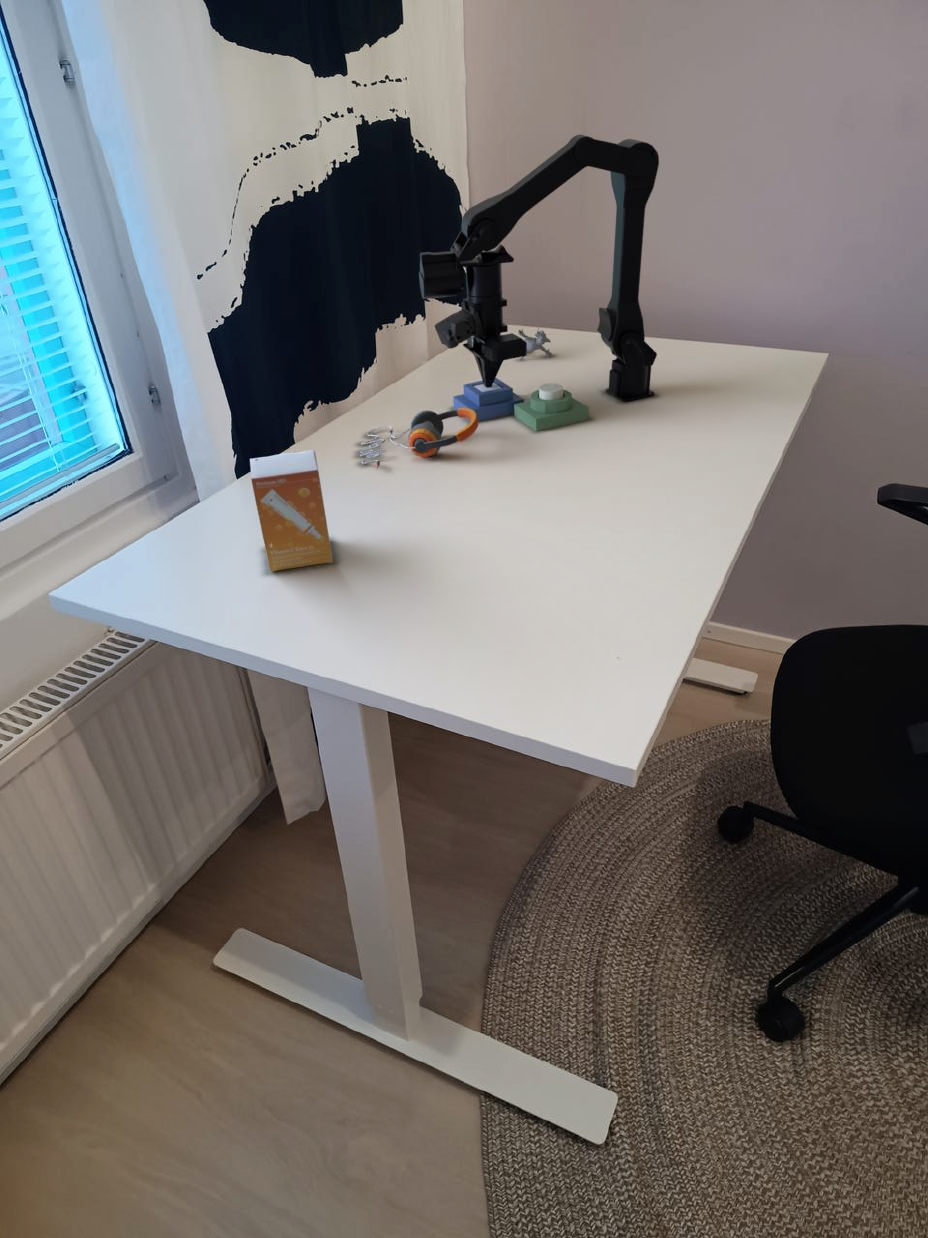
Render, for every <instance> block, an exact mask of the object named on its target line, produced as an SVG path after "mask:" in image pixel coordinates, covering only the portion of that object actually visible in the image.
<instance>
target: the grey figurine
mask: <svg viewBox="0 0 928 1238" xmlns="http://www.w3.org/2000/svg"><path fill="white" fill-rule="evenodd" d="M517 333H518V335H519V336H520V337H521V338H524V339H523V340H524V341H525V342H526V343H527V355H531V354H533V353H534V352H536V351H538V350H541V351H542V352H543V353H545V354H546V355H547V356H548V357H552V355H553V353H552V352H551V351H550V348H548V349H546V348H545V346H543V345H545V344H546V343H551V341H552V340H551V339H549V337H547V334H546V333H545V331H544V330H540V327H538V328H537V329H536V331H535V333H533V335H534V336H535V337H532V336H528V335H526V334H525V333H524V328H521V329H518V331H517ZM524 358H525V356H523V357H520V361H522V360H523V359H524Z"/></svg>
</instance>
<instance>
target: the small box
mask: <svg viewBox="0 0 928 1238" xmlns="http://www.w3.org/2000/svg"><path fill="white" fill-rule="evenodd" d="M249 466H250V480H251V486H252V492H253V497H254V502H255V507H256V512H257V516H258V520H259V526H260V530H261V534H262V541H263V545H264V549H265V554H266V558H267V563H268V568H269V572H271V573H272V572H277V571H282V570H288V569H294V568H295V569H296V568H301V567H307V566H314V565H320V564H329V563H330V564H331V563H333V561H334V559H333V553H332V548H331V541H330V534H329V527H328V522H327V515H326V509H325V503H324V496H323V490H322V484H321V477H320V472H319V466H318V460H317V455H316V451H315V449H311V450H304V451H297V452H287V453H279V454H274V455H268V456H261V457H254V458H249Z"/></svg>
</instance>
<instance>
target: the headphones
mask: <svg viewBox="0 0 928 1238" xmlns="http://www.w3.org/2000/svg"><path fill="white" fill-rule="evenodd" d="M457 417H459V418H465V419H467V418H469V419H471V421H469V422H468V424H466V426H464V427H463V428H462V429H460V430H459V431H457V432H456V433H455V434H454V435H452V436H449V437H446V438H442V435H443V432H444V421H443V420H447V419H451V418H457ZM386 427H387V428H390V430H389V441H390V442H391V443H392V444H394V445H396V446H401V447H403V448H405V449H410V450H411V452H412V453H413V454H414V455H415V456H418V457H420V458H428V457H432V456H435V455H436V454H437V453H438V452H439V451H440V449H441V448H443V447H448V446H450V445H453V444H455V443H462V442H463V441H465V440H467V439H468V438H470V437H471V436H472V435H473V434H475V432H476V431H477V429H478V427H479V422H478V417H477V415H476V413H475V411H473V410H472V409H468V408H459V409H458V410H455V409H452V410H448V411H447V410H446V411H444V412H441V413H436V412H435V411H432V410H422V411H419V412H418V413H416V414H415V415H414V417H413V418H412V420H411V422H410V428H408V429H407V430H405V431H404V432H402V433H401V434H399V435H397V436H394V435H393V432H394V431H393V427H392V425H380V426H377V427H375V428H373V429H370V431H368V432H367V436H368V437H375V438H372V439H370V440H366V441H363V442H361V443H360V444H361V446H363V445H364V446H365V445H368V448H364V449H362V450H360V452H359V453H360V454H359V456H360V457H365V458H363V460H361V464H363V465H365V464H370V463H375V462H376V469H378V468H379V466H380V465H381V461H380V460H379V459H374V460H370V459H373V458H377V457H380V456H381V453H385V452H386V449H385V448H383V449H378V448H380V447H381V444H383V443H385V442H386V441H385V439H384V438H383V439H381V438H380V439H379V437H380V436H379V435H378V434H371V433H372V432H373V431H376V430H378V429H380V428H386ZM408 432H409V433H408ZM406 433H408V438H407V439H408V446H405V445H404V444H401V443H397V442H395V441H393V440H392V438H393V439H398V438H401V437H403V436H404V435H405V434H406ZM374 449H377V450H374ZM366 460H370V461H366Z"/></svg>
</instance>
